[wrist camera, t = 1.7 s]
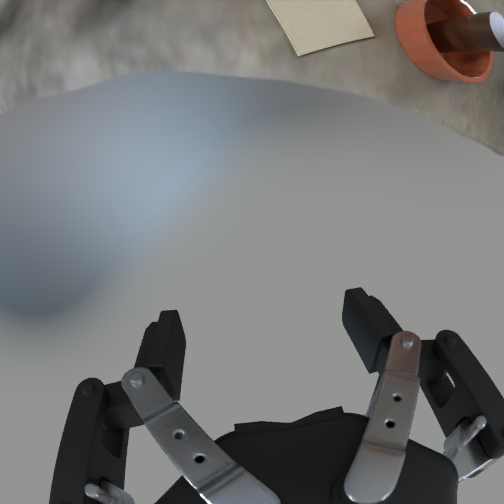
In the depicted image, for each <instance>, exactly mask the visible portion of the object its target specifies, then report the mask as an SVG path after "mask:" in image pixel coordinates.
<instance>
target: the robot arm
mask: <svg viewBox="0 0 504 504" xmlns="http://www.w3.org/2000/svg"><path fill="white" fill-rule="evenodd" d="M342 321H343V325H344V327H345V329H346V331H347V333H348V335H349V337H350V339H351V340H352V342H353V344H354V346H355V348H356V350H357V352H358V353H359V355H360V357H361V359H362V361H363V363H364V364H365V367H366V369H367V370H368V372H369V374H370V373H373V372H377V371H378V373H379V377H378V380H377V383H376V386H375V389H374V393H373V395H372V398H371V401H370V404H369V407H368V409H367V412H366V414H365V416H364V415H360V414H355V413H344V412H343V409H342V406H340V407H336V408H332V409H328V410H323V411H319V412H315V413H313V414H311V415H309V416H306V417H304V418H302V419H299V420H297V421H294V422H292V423H279V422H265V421H259V422H250V423H240V424H234V426H235V431H233V432H230V433H227V434H225V435H223V436H221V437H219V438H218V439H216V440H215V441H213V440H212V439H211V438H210V437H209V436H208V435H207V434H206V433H205V432H204V431H203V430H202V428H201V427H200V426H199V425H198V424H197V423H196V422H195V421H194V420H193V419H192V417H191V416H190V415H189V414H188V413H187V412H186V411H185V410H184V408H183V407H182V406H181V405H180V404H179V403H178V402H177V401H178V400H180V391H181V383H182V374H183V365H184V357H185V349H186V339H185V334H184V330H183V327H182V323H181V320H180V317H179V313H178V311H177V310H169V311H168V310H167V311H161V313H160V316H159V320H158V322H152V323H151V324H150V325H149V326H148V327H147V328H146V330H145V333H144V336H143V339H142V343H141V346H140V349H139V353H138V356H137V359H136V363H135V366H134V368H133V369H131V370H129V371H128V372H126V373H125V374H124V376H123V378H122V381H119V382H116V383H111V384H106V385H104V384H103V383H102V382H101V380H99V379H97V378H88V379H86V380H84V381H82V382H81V383H80V384H79V385H78V386H77V388H76V391H75V394H74V397H73V400H72V403H71V407H70V410H69V413H68V417H67V420H66V424H65V427H64V431H63V435H62V439H61V442H60V446H59V451H58V456H57V460H56V465H55V469H54V475H53V481H52V486H51V493H50V500H49V504H135V503H134V500H133V498H132V497H131V496H130V495H129V494H128V493H127V492H125V491H124V480H125V467H126V456H127V446H128V438H129V429H130V428H131V427H136V426H140V425H144V424H145V426H146V427H147V429H148V430H149V432H150V433H151V434H152V436H153V437H154V439H155V440H156V441H157V443H158V444H159V446H160V447H161V448H162V450H163V451H164V452H165V454H166V455H167V456H168V458H169V459H170V460H171V461H172V463H173V464H174V465H175V466H176V468H177V469H178V470H179V471H180V473H181V474H182V476H181V477H180V478H179V479H178V480H177V481H176V482H175V483H174V484H173V485H172V486H171V487H170V488H169V490H168V491H167V492H166V493H165V494H164V495H163V496H162V497H161V498H160V499H159V500H158V501H157V502H156V503H154V504H457V489H458V483H459V482H461V481H462V480H464V479H466V478H472V477H475V476H476V475H478V474H479V473H481V472H482V471H484V470H485V469H486V468H488V467H489V466H490V465H492V464H493V463H494V462H496V461H497V460H498V459H499V458H500V457H502V456H503V455H504V398H503V396H502V395H501V394H500V392H499V390H498V389H497V387H496V386H495V384H494V383H493V381H492V380H491V378H490V377H489V375H488V374H487V373H486V371H485V370H484V368H483V367H482V365H481V364H480V363H479V361H478V360H477V358H476V357H475V356H474V354H473V353H472V352H471V350H470V349H469V348H468V346H467V345H466V344H465V343H464V341H463V340H462V339H461V338H460V336H459V335H458V334H457V333H455V332H453V331H450V330H442V331H440V332H439V333H438V334H437V336H436V338H435V340H420V338H419V337H418V336H417V335H415V334H414V333H412V332H409V331H403V330H402V328H401V327H400V326H399V324H398V323H397V322H396V321H395V319H394V318H393V317H392V315H391V314H389V312H388V310H387V309H386V308H385V306H384V305H383V304H382V303H381V302H380V300H378V299H377V298H375V297H373V296H368V295H367V294H366V292H365V291H364V290H363V289H362V288H361V287H359V288H354V289H348V290H346V291H345V297H344V305H343V312H342ZM447 372H448V374H449V375H450V377H451V378H452V380H453V382H454V385H455V388H454V387H453V385H452V383H451V381H450V380H449V378H448V376H447V375H446V374H447ZM419 385H420V387H421V389H422V390H423V392H424V394H425V396H426V398H427V400H428V402H429V404H430V406H431V408H432V410H433V412H434V414H435V416H436V418H437V420H438V422H439V424H440V426H441V428H442V430H443V433H444V435H445V437H446V440H445V443H444V453H443V454H441V453H438V452H436V451H434V450H432V449H430V448H427V447H425V446H423V445H421V444H419V443H417V442H415V441H413V440H411V439H409V438H408V437H409V433H410V429H411V425H412V421H413V417H414V412H415V406H416V402H417V397H418V390H419ZM175 401H176V402H175Z"/></svg>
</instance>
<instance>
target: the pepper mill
mask: <svg viewBox="0 0 504 504" xmlns="http://www.w3.org/2000/svg"><path fill="white" fill-rule="evenodd" d="M426 28H427V31H428V33H429V35H430V37H431V40H432V42H433V44H434V46H435V47H436V49H437V50H438V52H439V53H445V52H462V51H500V52H504V18H503V16H501V15H500V14H499V13H497V12H485V13H477V14H471V15H465V16H459V17H454V18H449V19H445V20H440V21H436V22H432V23H428V24H426Z"/></svg>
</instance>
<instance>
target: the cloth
mask: <svg viewBox="0 0 504 504" xmlns="http://www.w3.org/2000/svg"><path fill="white" fill-rule="evenodd" d="M266 2H267V3H268V5H269V6H270V8H271V10H272V11H273V13H274V14H275V16H276V18H277V19H278V21H279V23H280V24H281V26H282V28H283V29H284V31H285V33H286V35H287V36H288V38H289V40H290V42H291V43H292V45H293V47H294V49H295V51H296V53H297V55H298V56H302V55H305V54H308V53H311V52H314V51H318V50H321V49H324V48H328V47H331V46H335V45H339V44H343V43H347V42H351V41H355V40H360V39H364V38H369V37H374V36H375V35H374V33H373V31H372V29H371V27H370V25H369V24H368V22H367V20H366V18H365V16H364V14H363V12H362V11H361V9H360V7H359V5H358V4H357V2H356V0H266Z"/></svg>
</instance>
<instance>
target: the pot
mask: <svg viewBox="0 0 504 504" xmlns="http://www.w3.org/2000/svg"><path fill="white" fill-rule="evenodd" d="M471 14H477V13H476V12H475V11H474V10H473V9H472V8H471V6H470V5H469V4H468V3H467V2H465V1H464V0H406V1H404V2H403V3H402V4H400V6H399V7H398V9H397V11H396V15H395V27H396V32H397V36H398V38H399V41H400V43H401V45H402V47H403V49H404V51H405V52H406V54H407V55H408V57H409V58H410V59H411V61H412V62H413V63H414V64H415V65H416V66H417V67H418V68H419V69H420V70H421V71H423V72H424V73H426V74H427V75H429V76H431V77H432V78H435V79H438V80H443V81H450V82H462V83H472V84H473V83H479V82H482V81H484V80H485V79H486V78H487V77H488V76H489V74H490V72H491V69H492V67H493V51H462V52H445V53H439V52H438V50H437V49H436V47H435V46H434V44H433V42H432V40H431V37H430V35H429V33H428V31H427V28H426V24H428V23H432V22H436V21H440V20H445V19H449V18H454V17H459V16H465V15H471Z"/></svg>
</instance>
